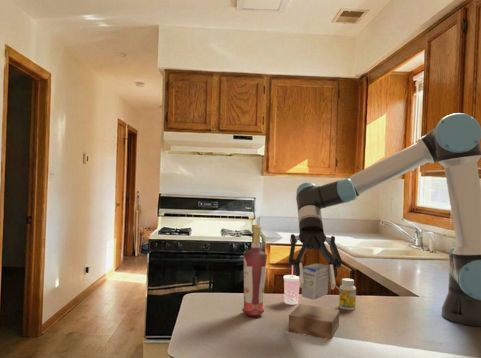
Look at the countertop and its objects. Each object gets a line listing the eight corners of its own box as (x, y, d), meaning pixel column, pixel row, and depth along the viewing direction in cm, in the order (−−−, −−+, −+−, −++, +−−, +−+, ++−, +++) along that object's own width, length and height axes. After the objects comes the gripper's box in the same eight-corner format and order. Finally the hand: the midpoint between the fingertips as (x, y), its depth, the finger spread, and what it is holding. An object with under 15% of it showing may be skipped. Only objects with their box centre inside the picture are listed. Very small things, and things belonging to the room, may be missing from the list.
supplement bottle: (358, 309, 137) (359, 280, 137) (346, 310, 135) (347, 282, 135) (348, 304, 142) (349, 277, 142) (335, 306, 140) (336, 278, 140)
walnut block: (339, 327, 120) (339, 310, 120) (331, 341, 109) (332, 322, 109) (299, 320, 125) (300, 303, 125) (288, 332, 114) (289, 315, 114)
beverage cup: (299, 305, 138) (301, 264, 139) (281, 304, 140) (283, 263, 140) (300, 301, 144) (302, 261, 145) (283, 299, 146) (284, 260, 146)
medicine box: (314, 291, 122) (315, 262, 122) (328, 294, 119) (329, 265, 119) (301, 296, 116) (302, 266, 116) (315, 300, 113) (316, 269, 113)
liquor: (266, 318, 124) (270, 226, 125) (243, 318, 123) (247, 226, 123) (261, 310, 131) (265, 224, 132) (239, 311, 130) (243, 223, 131)
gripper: (340, 231, 133) (352, 294, 116) (276, 229, 133) (279, 291, 117) (345, 217, 127) (358, 280, 111) (278, 214, 127) (281, 277, 111)
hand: (317, 286), depth 114 cm, fingers closed on medicine box, 8 cm apart
